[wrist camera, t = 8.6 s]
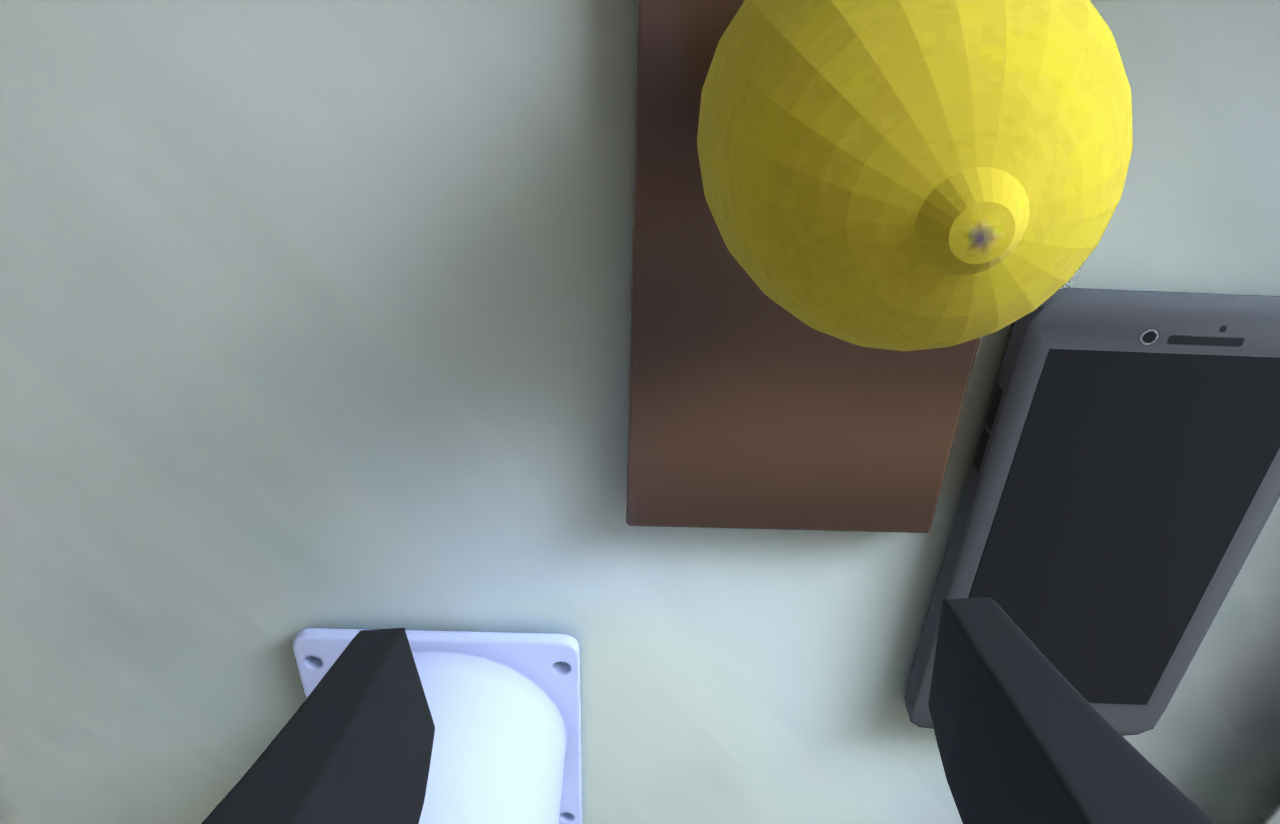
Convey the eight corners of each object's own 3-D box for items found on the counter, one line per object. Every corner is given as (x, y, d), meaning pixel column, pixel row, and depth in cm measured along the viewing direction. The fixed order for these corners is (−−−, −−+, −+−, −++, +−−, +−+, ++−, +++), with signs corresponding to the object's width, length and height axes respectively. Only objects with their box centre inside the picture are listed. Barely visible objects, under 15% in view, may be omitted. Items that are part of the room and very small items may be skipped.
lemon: (632, 14, 15) (620, 127, 8) (937, -168, 14) (1219, -209, 7) (763, 273, 18) (835, 521, 11) (1032, 142, 16) (1306, 332, 10)
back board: (919, 509, 22) (930, 534, 21) (627, 502, 22) (626, 527, 21) (1209, -666, 12) (1253, -708, 11) (652, -686, 12) (652, -729, 11)
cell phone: (897, 711, 26) (903, 732, 25) (1023, 281, 19) (1036, 295, 18) (1139, 719, 26) (1151, 740, 26) (1358, 294, 19) (1383, 309, 18)
